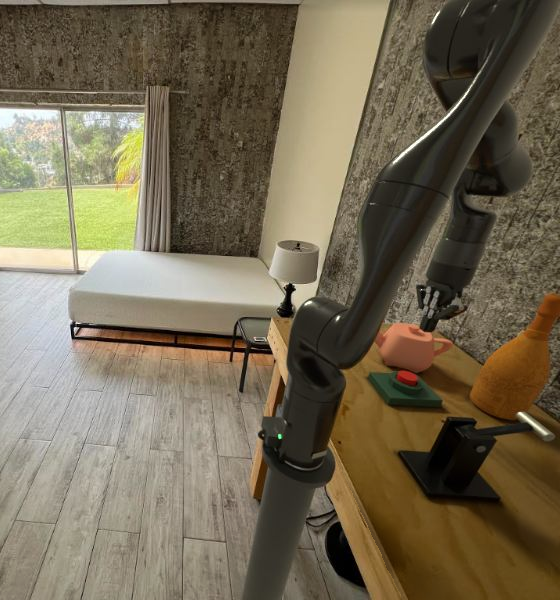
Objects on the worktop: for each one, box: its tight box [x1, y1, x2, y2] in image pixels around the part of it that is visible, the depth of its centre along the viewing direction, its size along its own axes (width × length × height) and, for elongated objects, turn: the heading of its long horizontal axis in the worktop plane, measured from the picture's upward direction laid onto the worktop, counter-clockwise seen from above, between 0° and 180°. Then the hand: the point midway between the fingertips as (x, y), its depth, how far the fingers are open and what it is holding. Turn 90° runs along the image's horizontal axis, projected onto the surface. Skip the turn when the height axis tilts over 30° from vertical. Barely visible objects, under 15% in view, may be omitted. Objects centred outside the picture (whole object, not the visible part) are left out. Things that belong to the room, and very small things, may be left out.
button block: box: [367, 370, 444, 408], centre depth 81 cm, size 12×10×4 cm
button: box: [396, 370, 418, 386], centre depth 80 cm, size 4×4×2 cm
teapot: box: [374, 322, 454, 374], centre depth 91 cm, size 13×20×12 cm, turn 58°
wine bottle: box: [469, 292, 560, 421], centre depth 70 cm, size 10×10×30 cm
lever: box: [453, 412, 556, 443], centre depth 55 cm, size 12×5×2 cm, turn 84°
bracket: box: [397, 416, 502, 503], centre depth 58 cm, size 12×9×13 cm
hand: (425, 330), depth 74 cm, fingers closed
